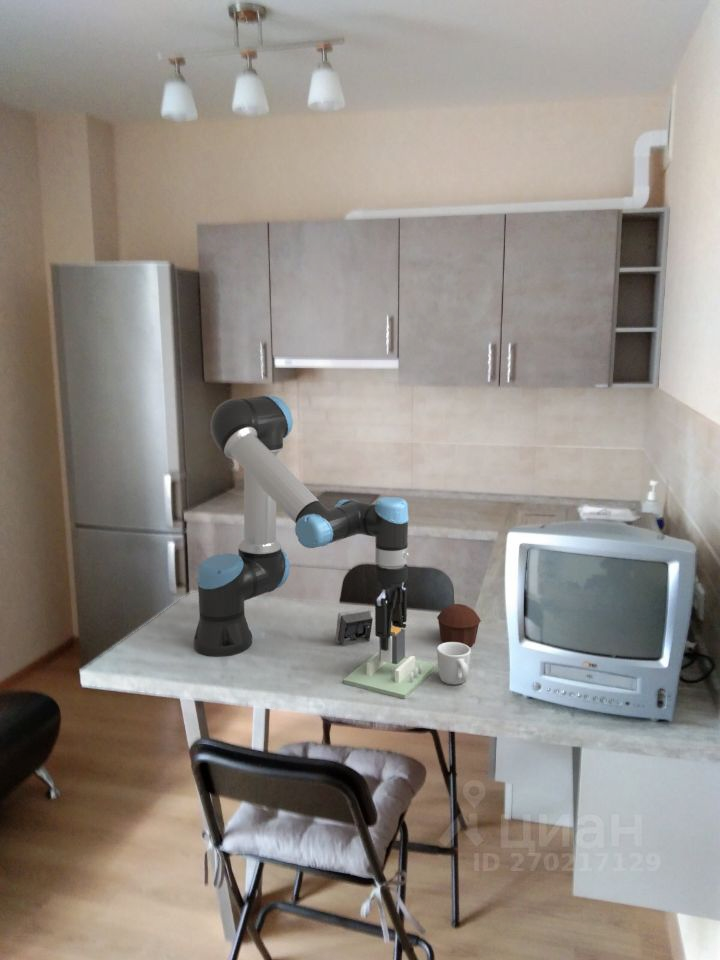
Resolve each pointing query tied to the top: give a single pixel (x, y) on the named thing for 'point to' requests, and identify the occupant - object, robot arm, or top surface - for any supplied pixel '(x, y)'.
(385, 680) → the board
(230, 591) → the robot arm
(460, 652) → the cup
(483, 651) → the top surface
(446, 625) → the muffin
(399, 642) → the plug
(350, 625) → the electrical switch
